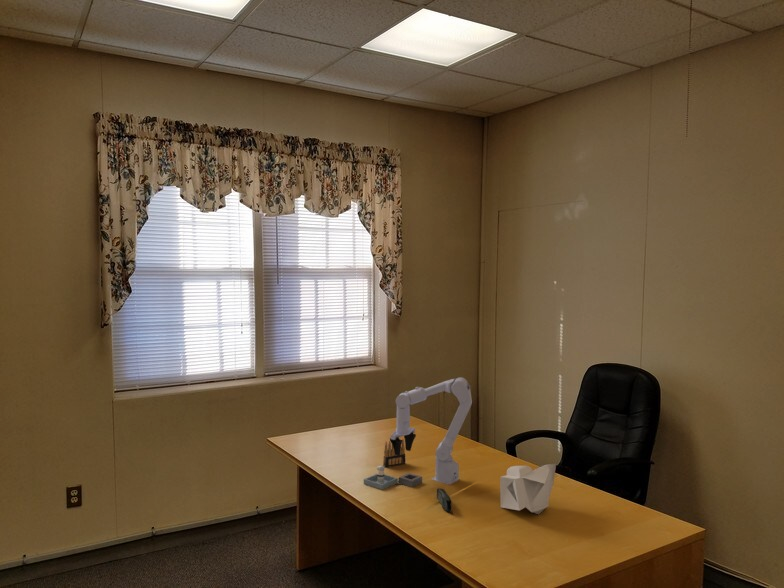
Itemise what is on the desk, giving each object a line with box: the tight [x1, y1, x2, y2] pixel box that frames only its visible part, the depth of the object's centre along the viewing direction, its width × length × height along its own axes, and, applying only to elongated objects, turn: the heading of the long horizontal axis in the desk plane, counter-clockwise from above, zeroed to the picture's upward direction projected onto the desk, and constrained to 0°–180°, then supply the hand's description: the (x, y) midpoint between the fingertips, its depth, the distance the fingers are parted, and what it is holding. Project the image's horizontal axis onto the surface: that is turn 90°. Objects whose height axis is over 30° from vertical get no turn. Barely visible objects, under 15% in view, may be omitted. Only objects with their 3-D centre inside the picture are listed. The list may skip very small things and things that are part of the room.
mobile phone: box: [436, 487, 454, 515], centre depth 220 cm, size 5×3×15 cm
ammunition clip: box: [382, 438, 406, 469], centre depth 264 cm, size 11×2×12 cm, turn 119°
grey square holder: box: [398, 472, 423, 488], centre depth 242 cm, size 7×7×3 cm
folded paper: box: [499, 463, 557, 516], centre depth 218 cm, size 17×24×17 cm
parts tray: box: [363, 473, 399, 491], centre depth 241 cm, size 10×10×2 cm
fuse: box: [376, 464, 385, 484], centre depth 241 cm, size 3×3×7 cm
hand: (402, 452), depth 251 cm, fingers open, 7 cm apart
